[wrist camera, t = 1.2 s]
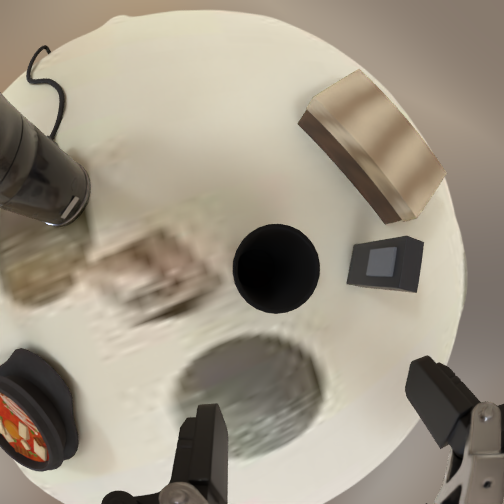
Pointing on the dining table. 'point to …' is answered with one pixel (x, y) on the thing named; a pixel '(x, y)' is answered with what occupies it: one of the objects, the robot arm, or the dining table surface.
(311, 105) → the lidded shoe box
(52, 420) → the casserole
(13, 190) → the robot arm
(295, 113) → the dining table surface
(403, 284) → the dark grey rectangular block
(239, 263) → the cup
